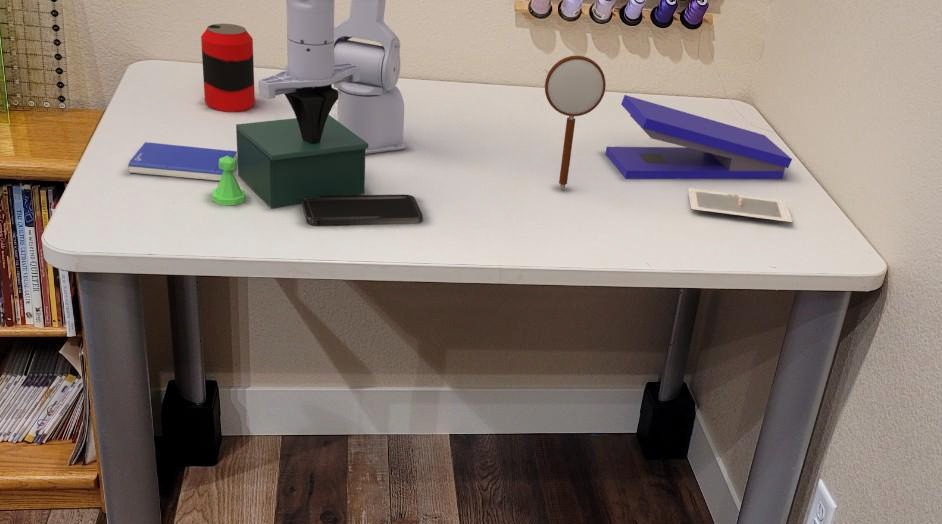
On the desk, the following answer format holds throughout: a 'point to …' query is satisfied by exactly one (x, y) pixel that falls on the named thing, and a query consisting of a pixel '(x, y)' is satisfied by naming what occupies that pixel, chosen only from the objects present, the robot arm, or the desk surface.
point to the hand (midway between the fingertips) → (311, 141)
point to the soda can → (228, 67)
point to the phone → (361, 210)
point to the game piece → (228, 184)
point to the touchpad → (739, 205)
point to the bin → (300, 174)
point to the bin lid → (299, 138)
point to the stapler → (695, 148)
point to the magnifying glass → (573, 97)
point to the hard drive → (179, 161)
